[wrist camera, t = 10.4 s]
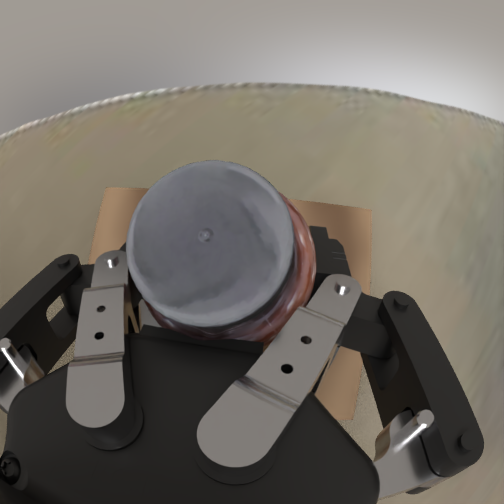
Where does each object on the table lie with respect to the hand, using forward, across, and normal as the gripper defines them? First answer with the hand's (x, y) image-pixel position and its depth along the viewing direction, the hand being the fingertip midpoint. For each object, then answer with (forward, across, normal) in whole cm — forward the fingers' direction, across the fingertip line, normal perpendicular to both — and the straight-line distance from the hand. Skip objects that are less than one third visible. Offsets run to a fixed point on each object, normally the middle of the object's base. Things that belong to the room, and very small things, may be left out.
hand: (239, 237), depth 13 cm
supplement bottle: (+2, 0, +5) cm, 5 cm away
